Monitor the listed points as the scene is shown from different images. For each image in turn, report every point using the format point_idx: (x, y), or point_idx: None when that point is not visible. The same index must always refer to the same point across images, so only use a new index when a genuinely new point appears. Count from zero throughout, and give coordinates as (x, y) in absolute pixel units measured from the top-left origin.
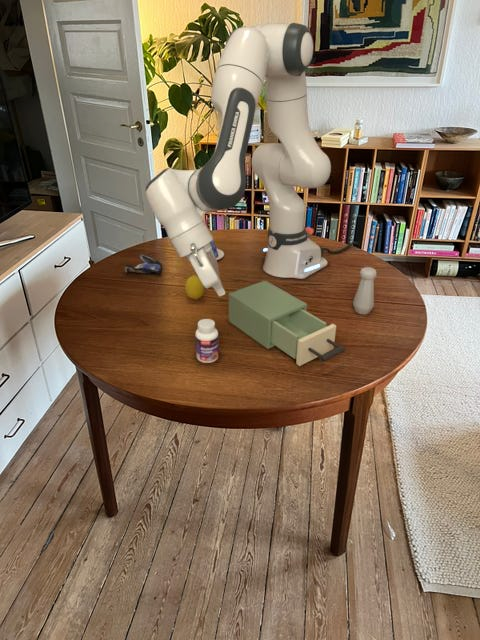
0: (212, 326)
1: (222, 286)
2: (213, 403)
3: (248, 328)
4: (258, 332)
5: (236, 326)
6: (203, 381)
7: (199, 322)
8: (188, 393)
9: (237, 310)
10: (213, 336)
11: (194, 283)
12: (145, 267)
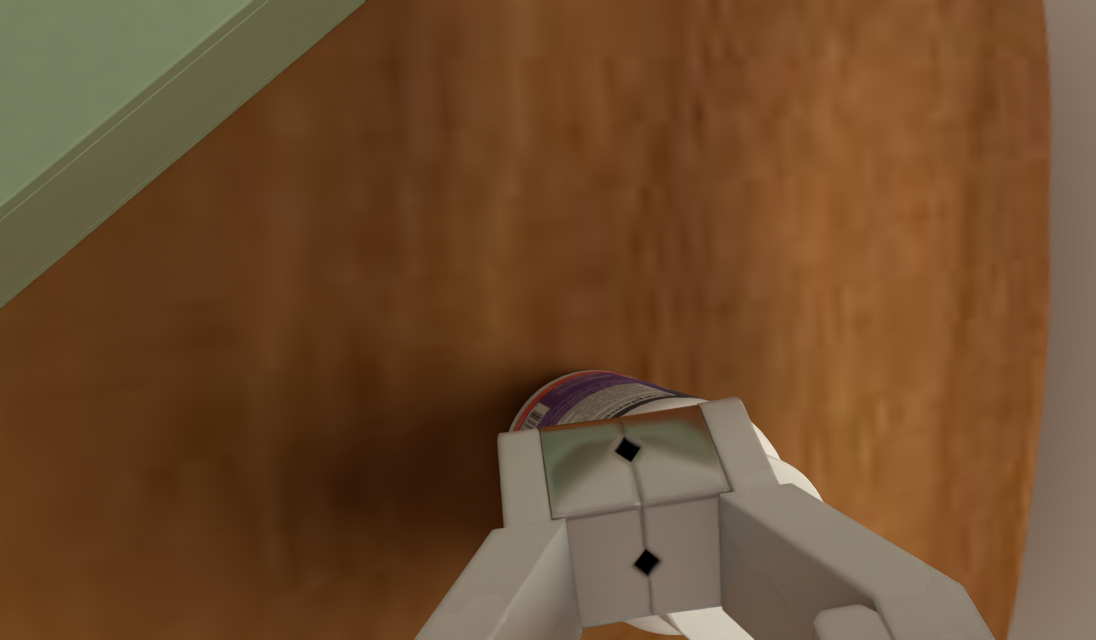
0: (795, 469)
1: (689, 489)
2: (1034, 323)
3: (202, 121)
4: (331, 4)
5: (47, 268)
6: (855, 427)
7: (742, 636)
8: (964, 497)
9: (5, 253)
10: (759, 435)
11: None
12: None
